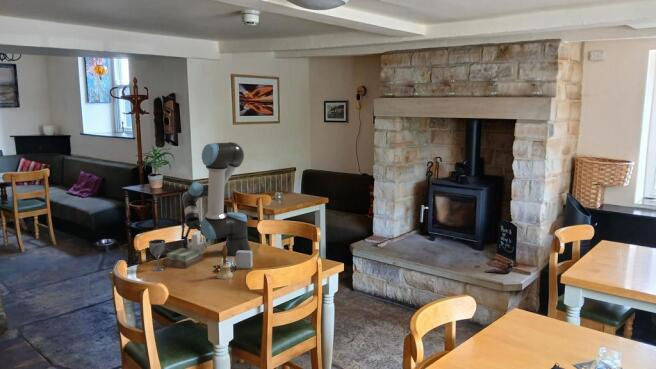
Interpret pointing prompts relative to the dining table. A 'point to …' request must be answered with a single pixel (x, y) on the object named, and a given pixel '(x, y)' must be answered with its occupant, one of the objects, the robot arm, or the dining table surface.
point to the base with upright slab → (197, 242)
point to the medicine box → (244, 259)
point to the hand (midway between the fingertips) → (197, 247)
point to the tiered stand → (183, 258)
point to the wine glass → (157, 251)
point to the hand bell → (224, 266)
